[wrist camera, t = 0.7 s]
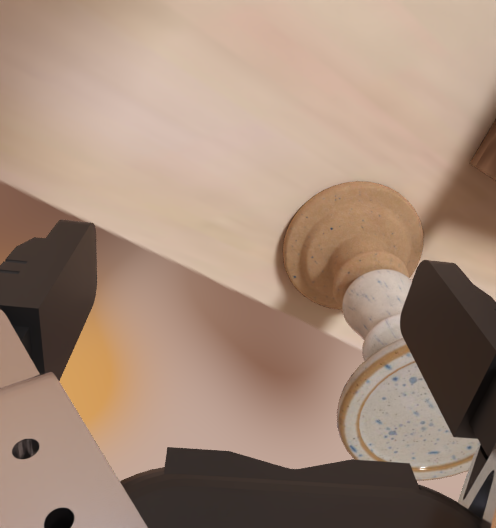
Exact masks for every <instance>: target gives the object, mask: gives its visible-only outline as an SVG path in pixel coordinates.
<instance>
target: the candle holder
mask: <svg viewBox="0 0 496 528" xmlns="http://www.w3.org/2000/svg"><path fill="white" fill-rule="evenodd" d="M422 249H423V230H422V225H421V222H420V219H419V217H418V215H417V213H416V211H415V209H414V208H413V206H412V205H411V204H410V203H409V201H408V200H406V199H405V198H404V197H403V196H402V195H401V194H399V193H398V192H396V191H394V190H393V189H391V188H389V187H386V186H383V185H381V184H377V183H371V182H357V181H356V182H348V183H343V184H339V185H335V186H332V187H330V188H328V189H325V190H323V191H321V192H320V193H318V194H317V195H315V196H313V197H312V198H311V199H310V200H308V201H307V202H306V203H305V204H304V205H303V206H302V207H301V208H300V209H299V210H298V212H297V213H296V214H295V216H294V217H293V219H292V221H291V222H290V225H289V227H288V229H287V231H286V235H285V239H284V244H283V259H284V265H285V269H286V272H287V274H288V276H289V278H290V280H291V282H292V283H293V285H294V286H295V287H296V289H297V290H298V291H299V292H300V293H301V294H302V295H304V296H305V297H307V298H308V299H310V300H311V301H313V302H315V303H317V304H319V305H322V306H325V307H328V308H334V309H342V310H343V315H344V318H345V320H346V322H347V323H348V325H349V326H350V327H351V328H352V329H353V330H354V331H355V332H356V333H357V334H358V335H359V336H361V337H362V339H363V340H364V343H363V351H362V354H363V358H364V362H363V363H362V364H361V365H360V366H359V367H358V368H357V369H356V371H355V372H354V373H353V374H352V375H351V377H350V378H349V380H348V381H347V383H346V385H345V386H344V389H343V391H342V394H341V396H340V399H339V403H338V409H337V427H338V431H339V435H340V437H341V440H342V442H343V444H344V445H345V448H346V450H347V451H348V452H349V454H350V455H351V456H352V457H353V458H354V459H355V460H369V461H384V462H399V463H410V465H411V468H412V470H413V473H414V475H415V478H416V481H422V480H423V481H424V480H433V479H440V478H445V477H450V476H454V475H457V474H460V473H463V472H466V471H469V468H470V465H471V462H472V459H473V456H474V454H475V452H476V450H477V448H478V447H479V445H480V442H479V440H478V439H472V438H458V437H453V435H452V433H451V431H450V429H449V427H448V425H447V423H446V421H445V419H444V417H443V415H442V413H441V412H440V410H439V408H438V406H437V404H436V402H435V400H434V398H433V396H432V394H431V392H430V390H429V388H428V386H427V384H426V382H425V380H424V378H423V376H422V374H421V372H420V370H419V368H418V366H417V364H416V362H415V360H414V358H413V356H412V354H411V352H410V350H409V348H408V346H407V344H406V342H405V340H404V338H403V336H402V334H401V330H400V316H401V312H402V309H403V306H404V303H405V300H406V297H407V295H408V292H409V289H410V286H411V284H412V281H411V279H410V277H411V275H412V274H413V272H414V271H415V269H416V267H417V265H418V262H419V260H420V257H421V253H422Z"/></svg>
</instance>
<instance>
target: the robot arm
mask: <svg viewBox="0 0 496 528" xmlns="http://www.w3.org/2000/svg"><path fill="white" fill-rule="evenodd" d="M96 287H97V259H96V229H95V225H94V224H93V223H88V222H78V221H69V220H59V221H58V223H57V224H56V225H55V227H54V228H53V229H52V230H51V232H50V233H49V235H48V236H47V237H46V238H32V239H31V240H29V241H27V242H25V243H23V244H21V245H19V246H17V247H16V248H15V249H14V250H13V251H12V252H11V254H10V255H9V256H8V257H7V259H6V261H5V262H3V263H2V264H1V265H0V528H496V302H495V301H494V300H493V298H492V297H491V296H489V295H488V294H486V293H485V292H484V291H482V290H481V289H479V288H478V287H476V286H475V285H473V284H472V282H471V281H470V280H469V279H468V278H467V276H466V275H465V274H464V273H463V272H462V270H461V269H460V268H459V267H458V266H457V265H456V264H454V263H448V262H438V261H429V260H424V261H422V262H421V263H420V264H419V266H418V267H417V270H416V273H415V275H414V278H413V281H412V284H411V286H410V289H409V292H408V295H407V297H406V300H405V303H404V306H403V309H402V312H401V316H400V330H401V334H402V336H403V338H404V340H405V342H406V344H407V346H408V348H409V350H410V352H411V354H412V356H413V358H414V360H415V362H416V364H417V366H418V368H419V370H420V372H421V374H422V376H423V378H424V380H425V382H426V384H427V386H428V388H429V390H430V392H431V394H432V396H433V398H434V400H435V402H436V404H437V406H438V408H439V410H440V412H441V413H442V415H443V417H444V419H445V421H446V423H447V425H448V427H449V429H450V431H451V433H452V435H453V437H458V438H472V439H478V440H479V442H480V445H479V447H478V448H477V450H476V452H475V454H474V456H473V459H472V462H471V465H470V468H469V471H468V474H467V476H466V479H465V483H464V485H463V488H462V491H461V494H460V497H459V500H458V502H456V501H454V500H453V499H451V498H449V497H447V496H445V495H443V494H441V493H439V492H437V491H434V490H432V489H429V488H427V487H425V486H421V485H418V483H417V481H416V478H415V475H414V473H413V470H412V468H411V465H410V463H399V462H384V461H369V460H354V459H353V460H347V461H341V462H336V463H330V464H325V465H319V466H313V467H308V468H302V469H289V468H285V467H281V466H278V465H274V464H271V463H268V462H264V461H261V460H257V459H254V458H251V457H247V456H243V455H240V454H237V453H233V452H229V451H217V450H202V449H187V448H170V447H168V448H167V455H166V462H165V467H163V468H158V469H152V470H149V471H146V472H142V473H139V474H136V475H134V476H131V477H129V478H126V479H124V480H122V481H119V480H118V478H117V476H116V475H115V473H114V471H113V470H112V468H111V466H110V465H109V463H108V461H107V460H106V458H105V456H104V455H103V453H102V452H101V450H100V448H99V446H98V445H97V443H96V441H95V440H94V438H93V437H92V435H91V433H90V432H89V430H88V428H87V427H86V425H85V424H84V422H83V420H82V418H81V417H80V415H79V413H78V412H77V410H76V408H75V407H74V405H73V404H72V402H71V400H70V399H69V397H68V395H67V394H66V392H65V390H64V389H63V387H62V386H61V384H60V382H59V381H60V378H61V376H62V374H63V371H64V369H65V367H66V364H67V363H68V360H69V358H70V356H71V354H72V351H73V349H74V347H75V344H76V342H77V340H78V338H79V336H80V333H81V331H82V329H83V326H84V324H85V322H86V320H87V318H88V315H89V313H90V311H91V309H92V306H93V303H94V300H95V295H96Z"/></svg>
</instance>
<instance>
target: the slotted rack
mask: <svg viewBox="0 0 496 528" xmlns="http://www.w3.org/2000/svg"><path fill="white" fill-rule="evenodd" d="M470 164H471V165H473V166H474V167H476V168H477V169H479V170H480V171H482V172H483V173H485V174H486V175H488V176H489V177H491V178H492V179H494V180H495V181H496V120H495V122H494V123H493V125H492V127H491V128H490V130H489V132H488V133H487V135H486V137H485V138H484V140H483V142H482V143H481V145H480V147H479V148H478V150H477V152H476V153H475V155H474V157H473V159H472V160H471V162H470Z"/></svg>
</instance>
